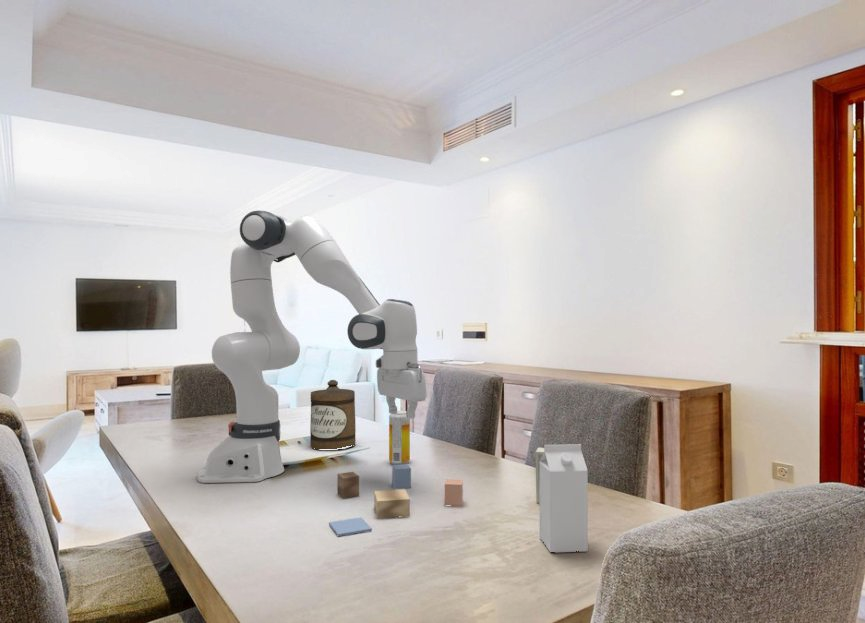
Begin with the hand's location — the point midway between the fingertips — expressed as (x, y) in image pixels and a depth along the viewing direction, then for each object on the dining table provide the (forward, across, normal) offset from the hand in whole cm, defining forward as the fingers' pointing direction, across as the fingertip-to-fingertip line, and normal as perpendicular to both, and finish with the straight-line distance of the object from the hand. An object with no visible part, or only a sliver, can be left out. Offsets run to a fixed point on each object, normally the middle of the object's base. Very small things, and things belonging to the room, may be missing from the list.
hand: (401, 415), depth 144 cm
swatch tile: (+18, -20, +23) cm, 35 cm away
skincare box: (+19, -29, -23) cm, 42 cm away
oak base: (+18, -16, +12) cm, 27 cm away
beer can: (+18, +20, -9) cm, 28 cm away
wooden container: (+17, +50, -1) cm, 53 cm away
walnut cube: (+18, 0, +15) cm, 23 cm away
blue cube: (+18, 0, +1) cm, 18 cm away
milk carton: (+19, -49, -8) cm, 53 cm away
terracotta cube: (+18, -18, -3) cm, 26 cm away
